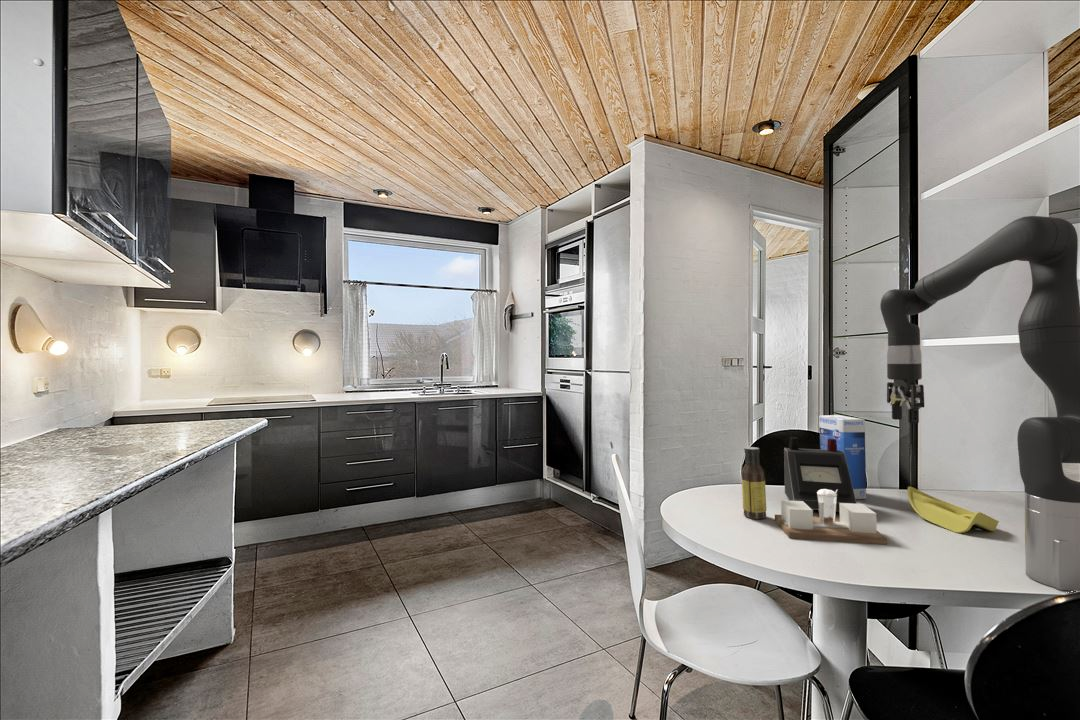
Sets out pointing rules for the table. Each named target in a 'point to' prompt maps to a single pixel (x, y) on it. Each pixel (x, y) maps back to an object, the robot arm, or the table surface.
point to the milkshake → (827, 506)
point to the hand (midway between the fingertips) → (904, 421)
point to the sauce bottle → (753, 485)
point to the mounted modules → (850, 515)
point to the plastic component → (948, 513)
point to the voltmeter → (816, 474)
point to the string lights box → (847, 446)
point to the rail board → (830, 532)
